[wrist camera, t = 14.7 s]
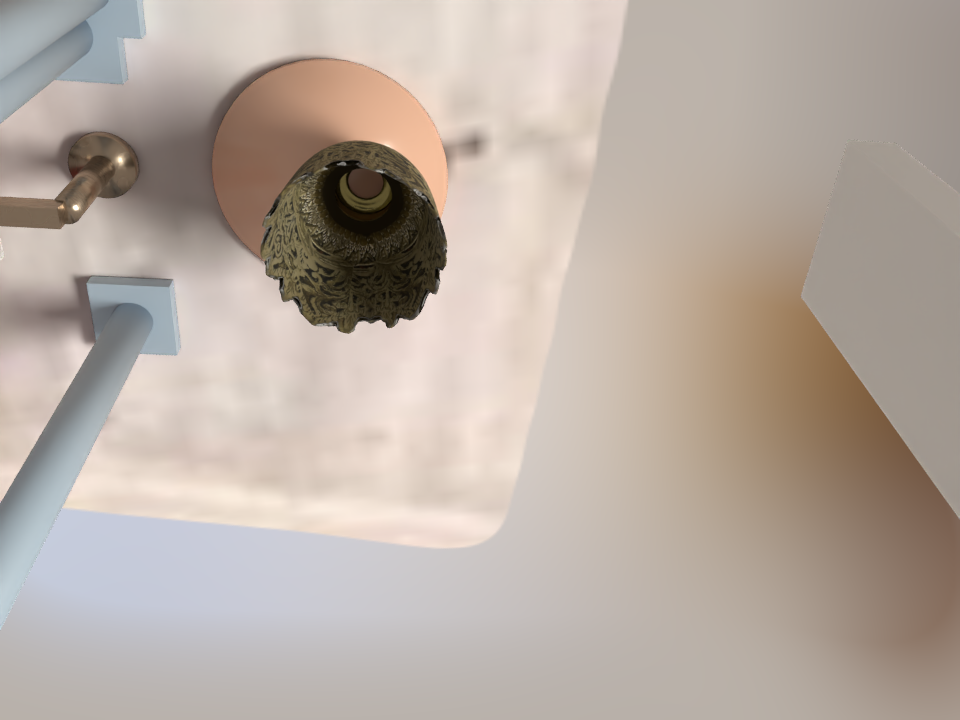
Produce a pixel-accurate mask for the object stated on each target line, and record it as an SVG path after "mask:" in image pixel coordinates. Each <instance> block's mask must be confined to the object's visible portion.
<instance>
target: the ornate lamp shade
mask: <svg viewBox="0 0 960 720" xmlns="http://www.w3.org/2000/svg"><path fill="white" fill-rule="evenodd" d="M355 169H369V170H372V171H375V172H377V173H379V174H380V175H381V176H382V178H383V187H382V190H381V191H380V193H379V194H378V195H376V196H374V197H372V198H361V197H358V196H357V195H355V194H354V193H353V192H352V191H351V189H350V187H349V183H348V179H349V175H350V173H351V172H352V171H353V170H355ZM262 227H264V228H265V229H266V230H265V233H264V235H263V239H262V241H261V249H260V254H261V257H262V259H263V260H264V259H265V262H264V263H265V265H266V275H267V276H269V277H271V278H273V279H274V280H280V287H279V290H280V293H281V298H282V300H283V302H287V301H290V300H294V302H295V303H296V304H297V306H298V308H299V311H300V313H301V314H302V315H303V316H304V317H305V318H306V319H307V320H308V321H309V322H310V323H311V324H312V325H314V326H336V327H337V329H338V331H340V332H343V333H348V334H349V333H351V332H353V331H354V330H355V326H356V325H357V324H358V322H362V321H366V322H368V323H374V322H376V321H379V320H382V321H383V322H385V323H386V326H387V328H392V327H394V326H395V325H396V324H397V323H398V320H399V318H403V319H407V320H413V319H415V318H416V317H417V316H418V315H419V314H420V312H421V310H422V308H423V306H424V304H425V300H426V298H427V296H428V294H429V293H430V292H431V293H432V294H437V291H438V288H439V284H440V278H439V275H440V273H439V272H440V270H443V269H444V267H445V266H446V262H447V258H446V253H447V250H446V248H447V241H446V236H445V232H444V229H443V226H442V223H441V220H440V216H439V213H438V210H437V207H436V204H435V201H434V198H433V195H432V193H431V190H430V188H429V186H428V184H427V182H426V181H425V179H424V177H423V176H422V174H421V173H420V172H419V170H418V169H417V168H416V167H415V166H414V165H413V164H412V163H411V162H410V161H409V160H408V159H407V158H406V157H405V156H403V155H402V154H401V153H399V152H397V151H396V150H394V149H392V148H390V147H388V146H385V145H382V144H379V143H375V142H371V141H359V140H354V141H346V142H341V143H337V144H334V145H331V146H329V147H327V148H325V149H323V150H321V151H319V152H318V153H316V154H314V155H313V156H312V157H311V158H309V159H308V160H307V161H306V162H305V163H304V164H303V165H302V166H301V167H300V168H299V169H298V170H297V171H296V173H295V174H294V175H293V177H292V178H291V179H290V180H289V182H288V183H287V184H286V186H285V187H284V189H283V190H282V191H281V193H280V194H279V195H278V197H277V198H276V199H275V201H274V203H273V205H272V207H271V209H270V211H269V212H268V213H267V215H266V216H265V218H264V221H263V224H262Z"/></svg>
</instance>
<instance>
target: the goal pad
mask: <svg viewBox="0 0 960 720" xmlns="http://www.w3.org/2000/svg"><path fill="white" fill-rule="evenodd" d="M354 140H359V141H371V142H375V143H379V144H382V145H385V146H388V147H390V148H392V149H394V150H396V151H397V152H399V153H401V154H402V155H403V156H405V157H406V158H407V159H408V160H409V161H410V162H411V163H412V164H413V165H414V166H415V167H416V168H417V169H418V170H419V172H420V173H421V174H422V176H423V177H424V179H425V181H426V182H427V184H428V186H429V188H430V190H431V193H432V195H433V198H434V201H435V204H436V207H437V210H438V213H439V216H440V218H441V216H442V213H443V209H444V206H445V202H446V196H447V188H448V172H447V163H446V156H445V151H444V148H443V144H442V141H441V138H440V136H439V134H438V131H437V129H436V127H435V125H434V123H433V122H432V120H431V118H430V117H429V115H428V113H427V112H426V111H425V109H424V108H423V107H422V106H421V104H420V103H419V102H418V101H417V100H416V99H415V98H414V97H413V96H412V95H411V94H410V93H409V92H408V91H407V90H406V89H405V88H404V87H402V86H401V85H400V84H398V83H397V82H396V81H394V80H393V79H391V78H389V77H388V76H386V75H384V74H382V73H381V72H379V71H376V70H374V69H372V68H369V67H367V66H364V65H361V64H357V63H353V62H350V61H344V60H337V59H310V60H302V61H297V62H293V63H290V64H286V65H283V66H281V67H278V68H276V69H274V70H271V71H269V72H268V73H266V74H264V75H263V76H261V77H260V78H258V79H256V80H255V81H254V82H253V83H252V84H250V85H249V86H248V87H247V88H246V89H244V91H243V92H242V93H241V94H240V95H239V96H238V97H237V99H236V100H235V101H234V102H233V104H232V106H231V107H230V109H229V110H228V112H227V113H226V115H225V117H224V119H223V121H222V123H221V125H220V127H219V130H218V133H217V136H216V140H215V143H214V149H213V156H212V176H213V183H214V189H215V192H216V196H217V199H218V203H219V205H220V207H221V210H222V212H223V214H224V216H225V218H226V220H227V221H228V223H229V225H230V226H231V228H232V230H233V231H234V232H235V233H236V235H237V236H238V237H239V239H240V240H241V241H242V242H243V243H244V244H245V245H246V246H247V247H248V248H249V249H250V250H251V251H252V252H253V253H254V254H256V255H257V256H258V257H259V258H261V259H262V257H261V254H260V249H261V241H262V239H263V235H264V233H265V230H266V229H265V228H264V227H262V224H263V221H264V218H265V216H266V215H267V213H268V212H269V211H270V209H271V207H272V205H273V203H274V201H275V199H276V198H277V197H278V195H279V194H280V193H281V191H282V190H283V189H284V187H285V186H286V184H287V183H288V182H289V180H290V179H291V178H292V177H293V175H294V174H295V173H296V171H297V170H298V169H299V168H300V167H301V166H302V165H303V164H304V163H305V162H306V161H307V160H308V159H309V158H311V157H312V156H313V155H314V154H316V153H318V152H319V151H321V150H323V149H325V148H327V147H329V146H331V145H334V144H337V143H341V142H346V141H354ZM348 183H349V187H350V189H351V191H352V192H353V193H354V194H355V195H357V196H358V197H361V198H372V197H374V196H376V195H378V194H379V193H380V191H381V190H382V187H383V178H382V176H381V175H380V174H379V173H377V172H375V171H372V170H369V169H355V170H353V171H352V172H351V173H350V175H349V179H348ZM262 260H263V259H262ZM263 261H265V259H264V260H263Z"/></svg>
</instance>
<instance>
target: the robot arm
mask: <svg viewBox="0 0 960 720" xmlns="http://www.w3.org/2000/svg"><path fill="white" fill-rule="evenodd" d="M3 257H4V253H3V249H2V244H1V239H0V260H1V259H2V258H3ZM801 297H802V299H803V300H804V301H805V303H806V304H807V306H808V307H809V309H810V310H811V311H812V313H813V314H814V316H815V317H816V318H817V320H818V321H819V323H820V324H821V325H822V327H823V328H824V329H825V331H826V332H827V334H828V335H829V337H830V338H831V339H832V341H833V342H834V344H835V345H836V346H837V348H838V349H839V351H840V352H841V354H842V355H843V356H844V358H845V359H846V361H848V363H849V365H850V366H851V368H852V369H853V370H854V372H855V373H856V375H857V376H858V377H859V379H860V380H861V381H862V383H863V384H864V386H865V387H866V389H867V390H868V391H869V393H870V394H871V396H872V397H873V398H874V400H875V401H876V403H877V404H878V405H879V407H880V408H881V410H882V411H883V412H884V414H885V415H886V417H887V418H888V419H889V421H890V422H891V424H892V425H893V427H894V428H895V429H896V431H897V432H898V434H899V435H900V436H901V438H902V439H903V441H904V442H905V443H906V445H907V446H908V448H909V449H910V450H911V452H912V453H913V455H914V456H915V457H916V459H917V460H918V462H919V463H920V464H921V466H922V467H923V469H924V470H925V471H926V473H927V474H928V476H929V477H930V478H931V480H932V481H933V483H934V484H935V485H936V487H937V488H938V489H939V491H940V492H941V494H942V495H943V497H944V498H945V499H946V501H947V502H948V504H949V505H950V507H951V508H952V509H953V511H954V512H955V514H956V515H957V516H958V518H959V519H960V194H959V193H958V192H957V191H955V190H954V189H953V188H952V187H950V186H949V185H948V184H947V183H945V182H944V181H943V180H942V179H940V178H939V177H938V176H937V175H935V174H934V173H933V172H931V171H930V170H929V169H928V168H926V167H925V166H924V165H922V164H921V163H920V162H919V161H918V160H916V159H915V158H914V157H912V156H911V155H910V154H909V153H907V152H906V151H905V150H904V149H902V148H901V147H900V146H899V145H897V144H896V143H888V142H873V141H857V140H848V141H847V145H846V148H845V152H844V155H843V158H842V161H841V165H840V168H839V171H838V175H837V178H836V181H835V185H834V188H833V191H832V194H831V198H830V201H829V204H828V208H827V211H826V214H825V218H824V221H823V224H822V228H821V231H820V234H819V237H818V241H817V244H816V247H815V251H814V254H813V257H812V261H811V264H810V267H809V271H808V274H807V277H806V281H805V284H804V287H803V291H802V294H801Z"/></svg>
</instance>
